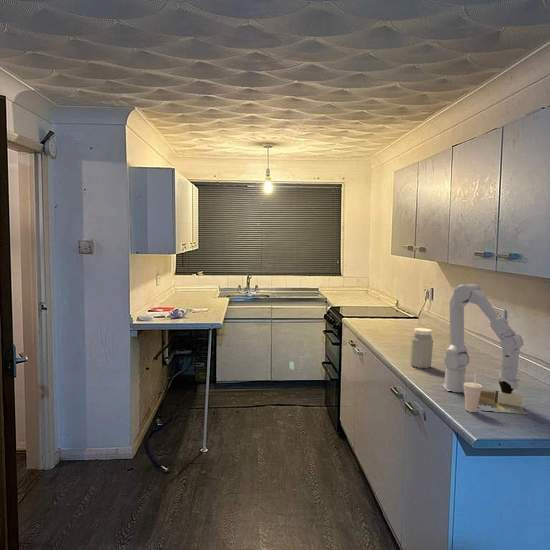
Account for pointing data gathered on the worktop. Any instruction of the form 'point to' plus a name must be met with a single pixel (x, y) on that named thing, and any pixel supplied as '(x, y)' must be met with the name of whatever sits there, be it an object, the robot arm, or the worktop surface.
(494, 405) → the mat
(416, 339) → the jar
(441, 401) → the worktop surface
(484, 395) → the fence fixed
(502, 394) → the fence panel
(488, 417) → the worktop surface
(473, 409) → the smoothie
